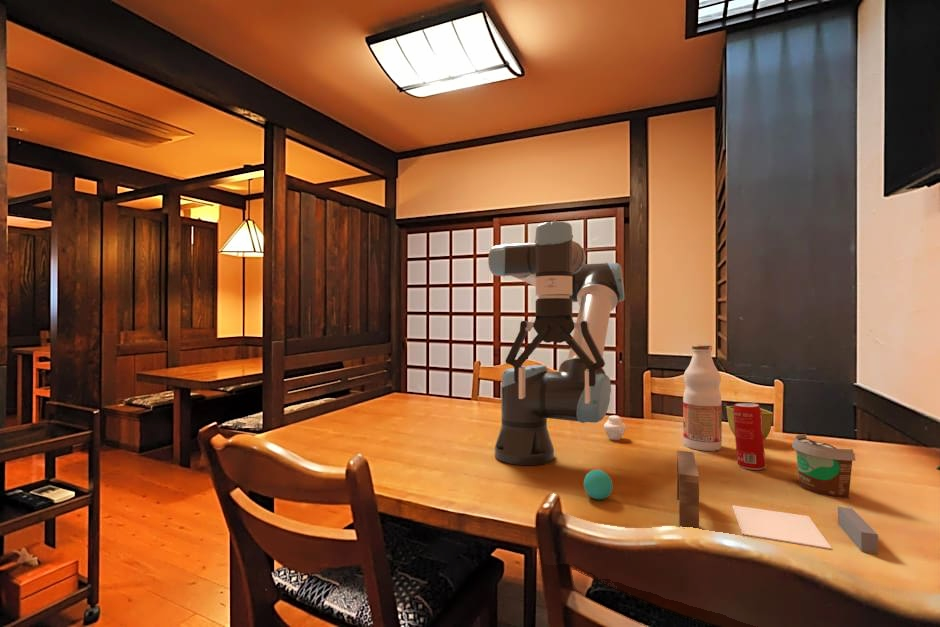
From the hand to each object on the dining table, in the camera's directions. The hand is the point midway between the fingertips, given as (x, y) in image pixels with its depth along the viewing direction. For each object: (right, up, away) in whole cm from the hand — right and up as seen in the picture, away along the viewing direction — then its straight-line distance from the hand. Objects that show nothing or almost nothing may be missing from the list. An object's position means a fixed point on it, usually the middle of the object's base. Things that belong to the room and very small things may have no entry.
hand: (553, 400), depth 94 cm
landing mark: (+36, -19, -16) cm, 43 cm away
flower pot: (+63, -19, +37) cm, 76 cm away
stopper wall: (+46, -19, -20) cm, 53 cm away
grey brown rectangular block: (+23, -19, -10) cm, 31 cm away
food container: (+54, -19, 0) cm, 58 cm away
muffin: (+25, -19, +39) cm, 50 cm away
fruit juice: (+47, -19, +31) cm, 59 cm away
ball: (+8, -16, -4) cm, 18 cm away
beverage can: (+49, -19, +14) cm, 55 cm away
